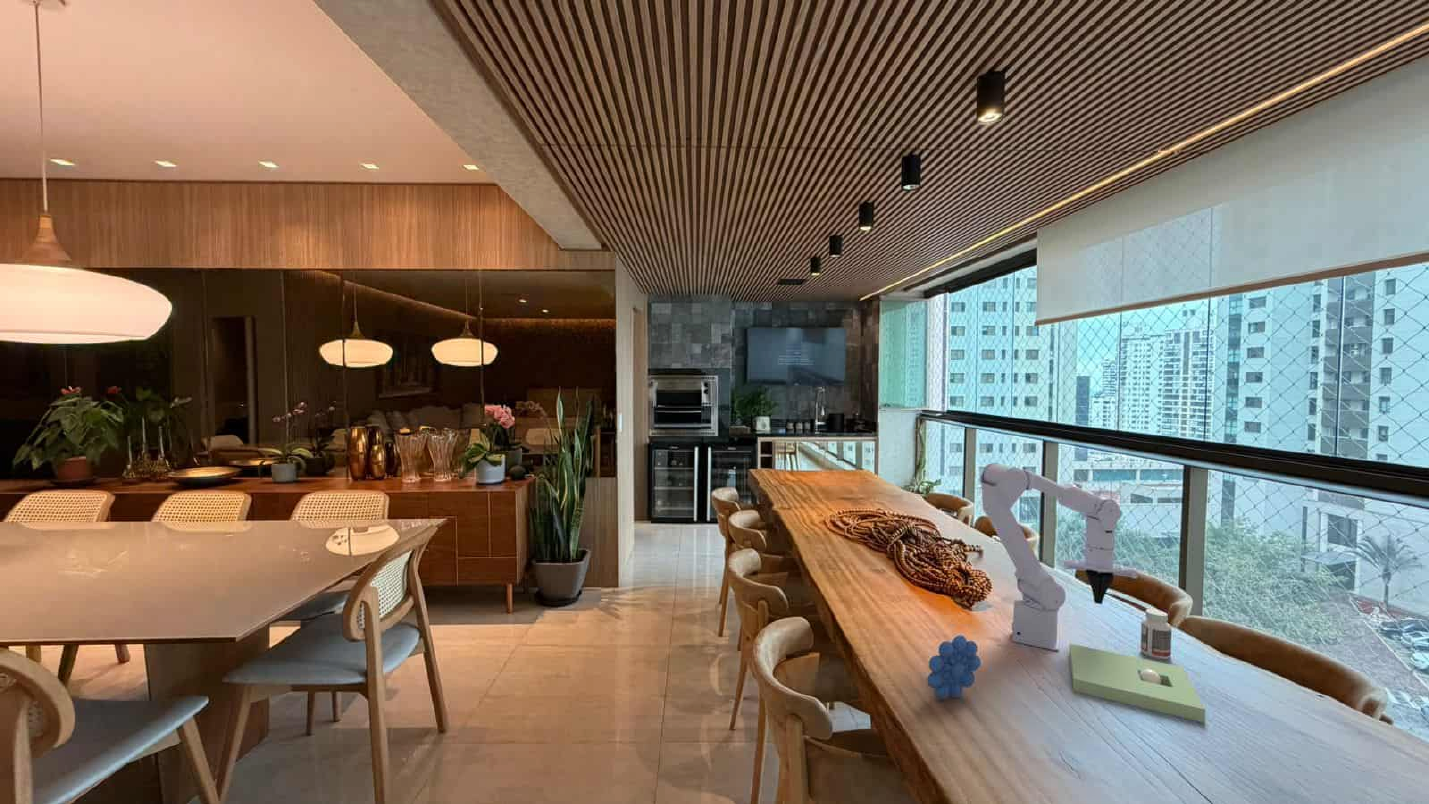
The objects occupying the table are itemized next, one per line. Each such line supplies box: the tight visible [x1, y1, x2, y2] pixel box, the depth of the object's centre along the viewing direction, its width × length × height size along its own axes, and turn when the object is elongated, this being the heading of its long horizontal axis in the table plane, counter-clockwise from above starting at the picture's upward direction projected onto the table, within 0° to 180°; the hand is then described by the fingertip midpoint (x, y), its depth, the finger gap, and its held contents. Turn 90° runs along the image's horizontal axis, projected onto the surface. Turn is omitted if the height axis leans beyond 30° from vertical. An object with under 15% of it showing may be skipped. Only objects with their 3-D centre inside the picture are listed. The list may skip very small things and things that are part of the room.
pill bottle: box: [1140, 608, 1172, 660], centre depth 126 cm, size 5×5×10 cm
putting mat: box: [1069, 643, 1206, 724], centre depth 112 cm, size 20×18×2 cm
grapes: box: [926, 635, 981, 699], centre depth 108 cm, size 12×7×12 cm, turn 105°
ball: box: [1139, 669, 1161, 685], centre depth 111 cm, size 4×4×4 cm
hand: (1097, 602), depth 132 cm, fingers closed
